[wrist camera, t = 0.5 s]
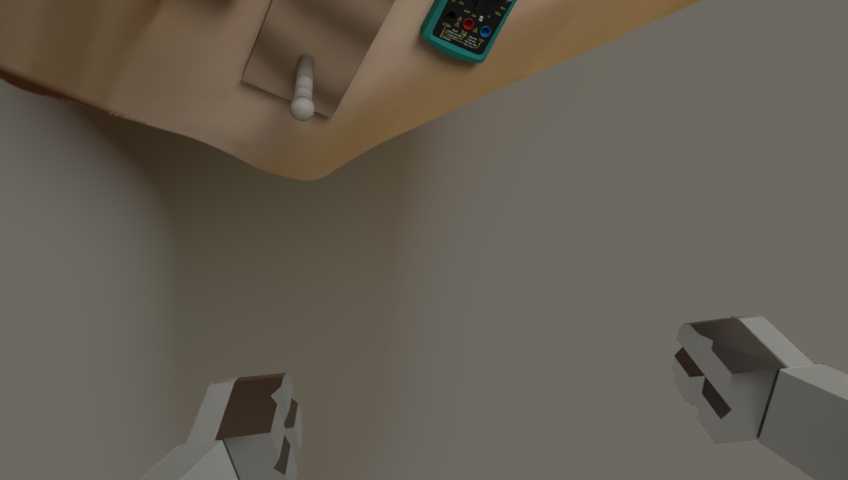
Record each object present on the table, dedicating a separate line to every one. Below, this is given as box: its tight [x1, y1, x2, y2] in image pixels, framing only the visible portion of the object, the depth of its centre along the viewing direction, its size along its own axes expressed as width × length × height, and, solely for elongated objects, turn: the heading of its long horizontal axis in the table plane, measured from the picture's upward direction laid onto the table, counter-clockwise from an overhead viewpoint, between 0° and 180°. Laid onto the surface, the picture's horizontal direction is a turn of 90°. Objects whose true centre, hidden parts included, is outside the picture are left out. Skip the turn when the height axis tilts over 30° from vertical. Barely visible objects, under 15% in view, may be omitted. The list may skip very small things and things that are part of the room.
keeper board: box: [242, 0, 395, 121], centre depth 48 cm, size 22×10×12 cm, turn 149°
